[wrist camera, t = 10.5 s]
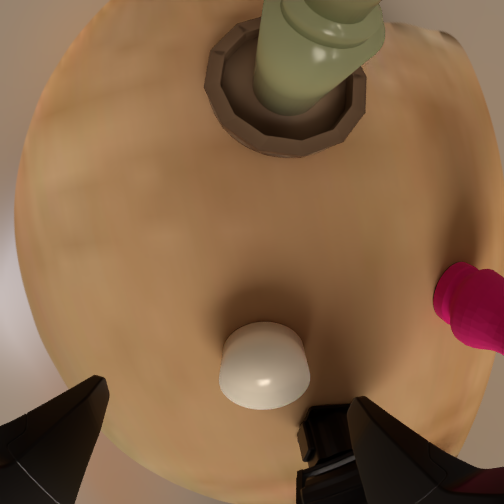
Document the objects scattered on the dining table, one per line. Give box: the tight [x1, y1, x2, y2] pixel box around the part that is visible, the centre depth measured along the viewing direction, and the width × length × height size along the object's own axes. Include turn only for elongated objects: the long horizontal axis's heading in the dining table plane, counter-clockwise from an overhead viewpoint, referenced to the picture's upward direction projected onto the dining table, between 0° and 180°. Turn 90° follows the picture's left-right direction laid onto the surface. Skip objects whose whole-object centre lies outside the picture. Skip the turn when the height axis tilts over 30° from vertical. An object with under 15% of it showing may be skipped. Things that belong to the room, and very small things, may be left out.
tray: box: [204, 17, 366, 158], centre depth 16 cm, size 11×11×2 cm
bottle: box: [252, 0, 385, 116], centre depth 9 cm, size 5×5×15 cm
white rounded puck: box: [219, 322, 310, 410], centre depth 21 cm, size 7×7×4 cm
